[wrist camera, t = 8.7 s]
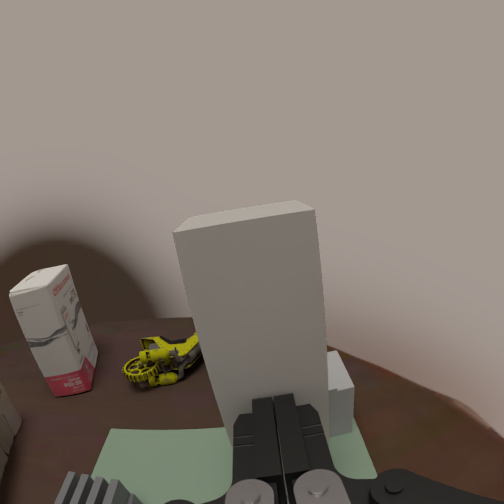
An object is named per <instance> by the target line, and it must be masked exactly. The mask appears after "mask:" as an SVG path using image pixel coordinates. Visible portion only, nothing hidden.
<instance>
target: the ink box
mask: <svg viewBox="0 0 504 504" xmlns="http://www.w3.org/2000/svg"><path fill="white" fill-rule="evenodd" d="M9 297H10V301H11V303H12V306H13V309H14V312H15V314H16V317H17V319H18V322H19V324H20V326H21V329H22V331H23V333H24V336H25V338H26V340H27V342H28V345H29V347H30V349H31V351H32V353H33V356H34V358H35V360H36V362H37V364H38V366H39V368H40V370H41V372H42V374H43V376H44V378H45V379H46V381H47V383H48V385H49V387H50V389H51V391H52V392H53V394H54V396H55V397H58V396H66V395H73V394H77V393H81V392H85V391H89V390H91V388H92V382H93V376H94V371H95V366H96V361H97V356H98V350H97V348H96V345H95V343H94V340H93V338H92V335H91V333H90V330H89V328H88V325H87V322H86V320H85V317H84V314H83V311H82V308H81V305H80V302H79V299H78V296H77V293H76V290H75V287H74V284H73V280H72V277H71V274H70V270H69V267H68V264H66V265H61V266H57V267H51V268H46V269H42V270H38V271H35V272H32V273H31V274H30V275H28V276H27V277H26V278H25V279H23V280H22V281H21V282H20V283H19V284H18V285H16V286H15V287H14V288H13V289H12V290H10V294H9Z"/></svg>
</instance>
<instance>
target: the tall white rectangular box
mask: <svg viewBox="0 0 504 504" xmlns="http://www.w3.org/2000/svg"><path fill="white" fill-rule="evenodd" d="M173 236H174V241H175V246H176V250H177V255H178V259H179V264H180V268H181V272H182V277H183V281H184V285H185V289H186V293H187V298H188V301H189V305H190V309H191V313H192V317H193V321H194V325H195V329H196V333H197V336H198V340H199V344H200V347H201V351H202V354H203V358H204V361H205V365H206V368H207V372H208V375H209V378H210V382H211V385H212V388H213V391H214V395H215V398H216V401H217V404H218V407H219V411H220V414H221V417H222V420H223V423H224V426H225V429H226V432H227V435H228V438H229V441H230V443H231V446H232V449H233V425H234V423H235V421H236V419H237V418H238V416H239V414H247V413H252V399H257V398H265V397H271V396H272V401H273V407H274V412H275V405H274V398H273V396H277V395H283V394H289V393H293V395H294V399H295V404H296V406H300V405H305V404H311V405H312V406H313V407H314V408H315V409H316V410H317V411H318V413H319V416H320V420H321V424H322V426H323V430H324V434H325V437H326V440H327V443H328V447H329V394H328V364H327V343H326V326H325V313H324V297H323V285H322V274H321V263H320V253H319V245H318V244H319V243H318V234H317V225H316V216H315V210H314V209H313V208H311V207H309V206H307V205H306V204H304V203H302V202H300V201H298V200H290V201H283V202H277V203H270V204H264V205H258V206H251V207H245V208H239V209H233V210H227V211H221V212H215V213H209V214H204V215H198V216H193V217H189V218H188V219H187V220H186V221H185V222H184V223H183V224H182V225H181V226H180V227H178V228H177V229H176V230H175V231H174V232H173ZM275 418H276V412H275ZM276 424H277V420H276ZM277 430H278V427H277ZM278 437H279V434H278ZM279 444H280V442H279ZM280 452H281V449H280ZM281 459H282V456H281ZM282 466H283V464H282ZM283 474H284V471H283ZM284 481H285V477H284ZM285 489H286V496H288V493H287V488H286V483H285Z"/></svg>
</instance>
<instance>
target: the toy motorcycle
mask: <svg viewBox="0 0 504 504" xmlns="http://www.w3.org/2000/svg"><path fill="white" fill-rule="evenodd" d="M140 342H141V345H142V348H143V350H148V351H140V353H139V356H138V357H137V358H134V359H132V360H130V361H129V362H126V363H127V364H126V365H125V364H124V367H123V370H122V371H123V374H124V376H125V378H127V380H130V381H134V382H136V381H139V382H140V381H143V380H144V381H145V380H146V379H149V384H150V386H151V387H153V386H158V385H157V384H161V385H168V384H174V383H176V382H177V380H179V379H182V378H183V377H184V369H185V368H189V367H190V366H191V365H192V364H193V363H194V362H195V361H196V360H197V359H198V358H199V356H200V355H201V354H202V351H201V347H200V344H199V340H198V336H197V333H194V335H193V336H191V337H190V338H188V339H180V340H174V341H170V340H168V339H166V338H164V337H162V336H160V337H147V338H141V339H140ZM151 363H152V364H151ZM149 364H150V365H149ZM135 365H137V366H138V367H137V368H136V369H132V370H131V368H132V367H134V366H135ZM147 365H148V366H147ZM166 365H169V366H170V367H171V369H169V370H167V371H165V368H164V366H166ZM161 366H162V368H163V371H164V373H162V374H158V371H160V368H161ZM172 369H173V370H179V374H175V373H173V372H169V373H166V372H168V371H170V370H172ZM145 370H148V371H145ZM134 371H139V373H138V374H131V373H132V372H134ZM156 374H158V375H156Z"/></svg>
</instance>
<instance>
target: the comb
mask: <svg viewBox="0 0 504 504" xmlns="http://www.w3.org/2000/svg"><path fill="white" fill-rule="evenodd" d="M21 422H22V420H21V417H20V416H19V414H18V412H17V411H16V409H15V407H14V406H13V404H12V402H11V401H10V399H9V397H8V395H7V393H6V391H5V390H4V388H3V386H2V384H1V382H0V477H1V476H2V474H3V473H2V472H4V471H3V470H4V469H5V468H4V466H5V465H6V463H7V462H8V458H7V456H6V454H5V452H4V451H3V449H4V450H5V451H6V452H7V453H8V454H9V452H10V448H11V446H12V443H13V442H14V441H13V439H14V438H13V436H14V435H15V436H16V435H17V432H18V430H19V428H20V425H21ZM2 448H3V449H2ZM6 461H7V462H6ZM5 462H6V463H5ZM4 464H5V465H4ZM3 465H4V466H3ZM3 468H4V469H3ZM1 473H2V474H1ZM2 477H3V476H2ZM2 477H1V478H2ZM1 478H0V480H1ZM1 481H2V480H1ZM1 481H0V483H1Z"/></svg>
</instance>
